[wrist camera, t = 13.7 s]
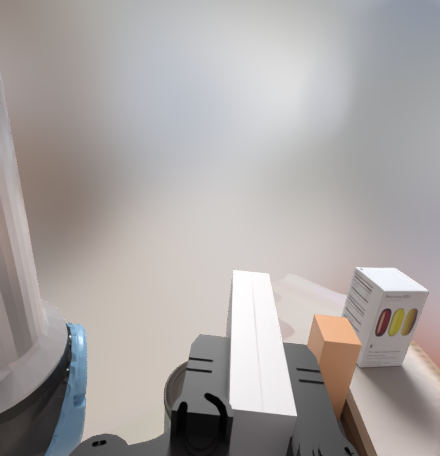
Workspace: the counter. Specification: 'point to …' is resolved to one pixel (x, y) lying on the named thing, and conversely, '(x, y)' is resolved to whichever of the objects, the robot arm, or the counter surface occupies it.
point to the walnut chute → (355, 428)
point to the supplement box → (383, 314)
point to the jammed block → (335, 355)
